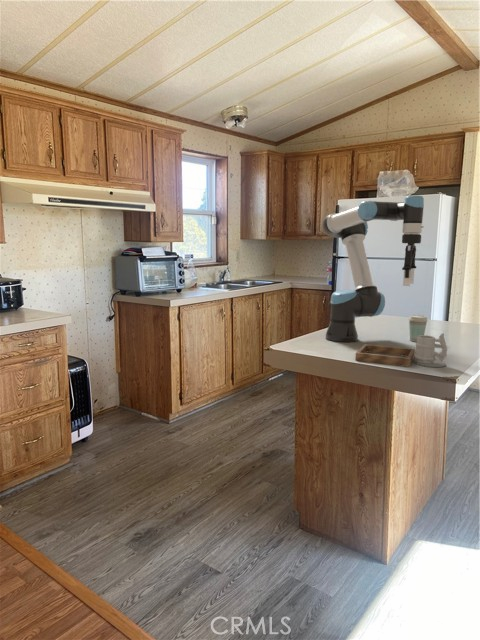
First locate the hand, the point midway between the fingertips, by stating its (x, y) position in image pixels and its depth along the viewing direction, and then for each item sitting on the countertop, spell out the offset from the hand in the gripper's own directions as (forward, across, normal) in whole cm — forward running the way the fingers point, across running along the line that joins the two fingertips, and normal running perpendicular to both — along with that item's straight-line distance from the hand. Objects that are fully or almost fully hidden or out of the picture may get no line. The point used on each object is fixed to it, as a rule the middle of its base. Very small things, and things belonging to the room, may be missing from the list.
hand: (408, 284), depth 204 cm
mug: (+28, -19, -12) cm, 36 cm away
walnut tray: (+29, -18, +5) cm, 34 cm away
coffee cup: (+29, +25, -3) cm, 38 cm away
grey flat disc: (+29, -19, -12) cm, 36 cm away
